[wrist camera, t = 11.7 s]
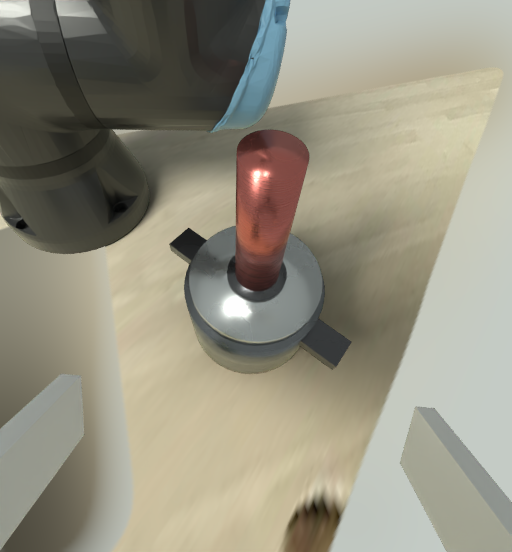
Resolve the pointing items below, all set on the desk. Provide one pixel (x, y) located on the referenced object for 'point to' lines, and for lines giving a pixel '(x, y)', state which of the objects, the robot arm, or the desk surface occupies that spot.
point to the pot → (268, 357)
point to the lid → (260, 250)
